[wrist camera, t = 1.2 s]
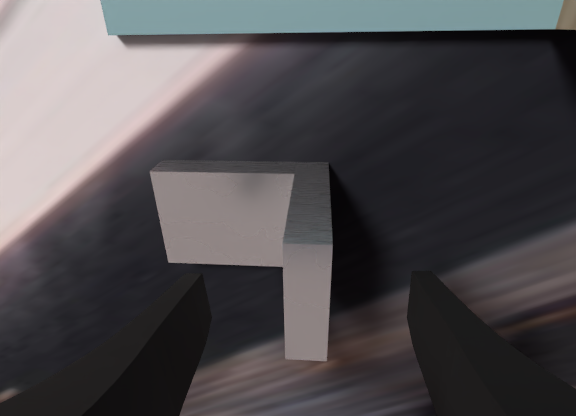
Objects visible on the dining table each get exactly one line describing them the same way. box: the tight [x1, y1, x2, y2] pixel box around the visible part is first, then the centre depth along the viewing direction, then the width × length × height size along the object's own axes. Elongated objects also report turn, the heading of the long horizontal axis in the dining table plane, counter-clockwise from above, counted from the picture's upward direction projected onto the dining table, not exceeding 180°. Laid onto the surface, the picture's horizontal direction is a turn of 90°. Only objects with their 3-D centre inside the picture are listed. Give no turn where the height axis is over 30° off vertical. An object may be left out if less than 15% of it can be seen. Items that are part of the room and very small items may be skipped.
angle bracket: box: [150, 160, 333, 361], centre depth 15 cm, size 8×5×7 cm, turn 91°
